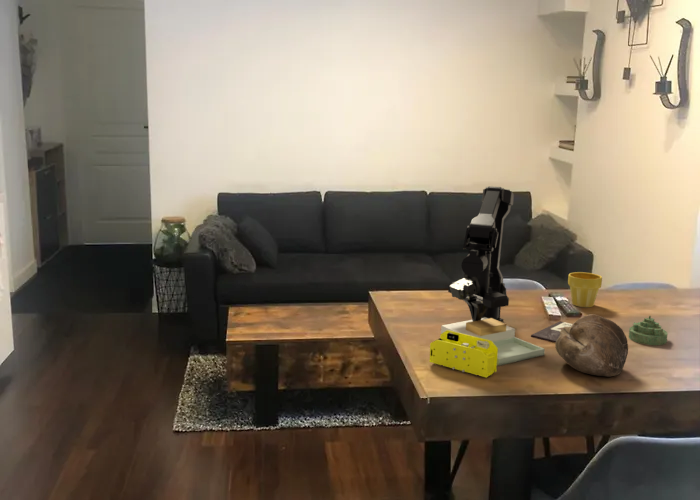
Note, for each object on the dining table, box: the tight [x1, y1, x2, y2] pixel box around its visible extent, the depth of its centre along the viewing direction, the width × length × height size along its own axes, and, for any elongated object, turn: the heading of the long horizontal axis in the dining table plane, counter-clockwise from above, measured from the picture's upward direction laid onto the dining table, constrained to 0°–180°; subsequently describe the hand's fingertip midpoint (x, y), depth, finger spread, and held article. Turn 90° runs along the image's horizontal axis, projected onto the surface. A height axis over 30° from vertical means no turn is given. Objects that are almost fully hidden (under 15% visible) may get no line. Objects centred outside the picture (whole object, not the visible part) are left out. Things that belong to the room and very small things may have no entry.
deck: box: [440, 317, 516, 342], centre depth 208 cm, size 16×12×4 cm
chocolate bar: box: [530, 321, 573, 344], centre depth 217 cm, size 9×1×18 cm
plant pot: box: [567, 271, 603, 308], centre depth 245 cm, size 10×10×10 cm
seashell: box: [554, 313, 629, 378], centre depth 189 cm, size 16×17×15 cm
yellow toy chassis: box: [429, 330, 498, 378], centre depth 186 cm, size 16×6×8 cm, turn 52°
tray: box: [485, 336, 545, 366], centre depth 199 cm, size 16×11×2 cm
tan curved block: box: [466, 318, 508, 336], centre depth 204 cm, size 9×6×2 cm, turn 121°
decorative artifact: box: [628, 315, 669, 346], centre depth 212 cm, size 10×7×10 cm
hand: (475, 324), depth 208 cm, fingers closed
